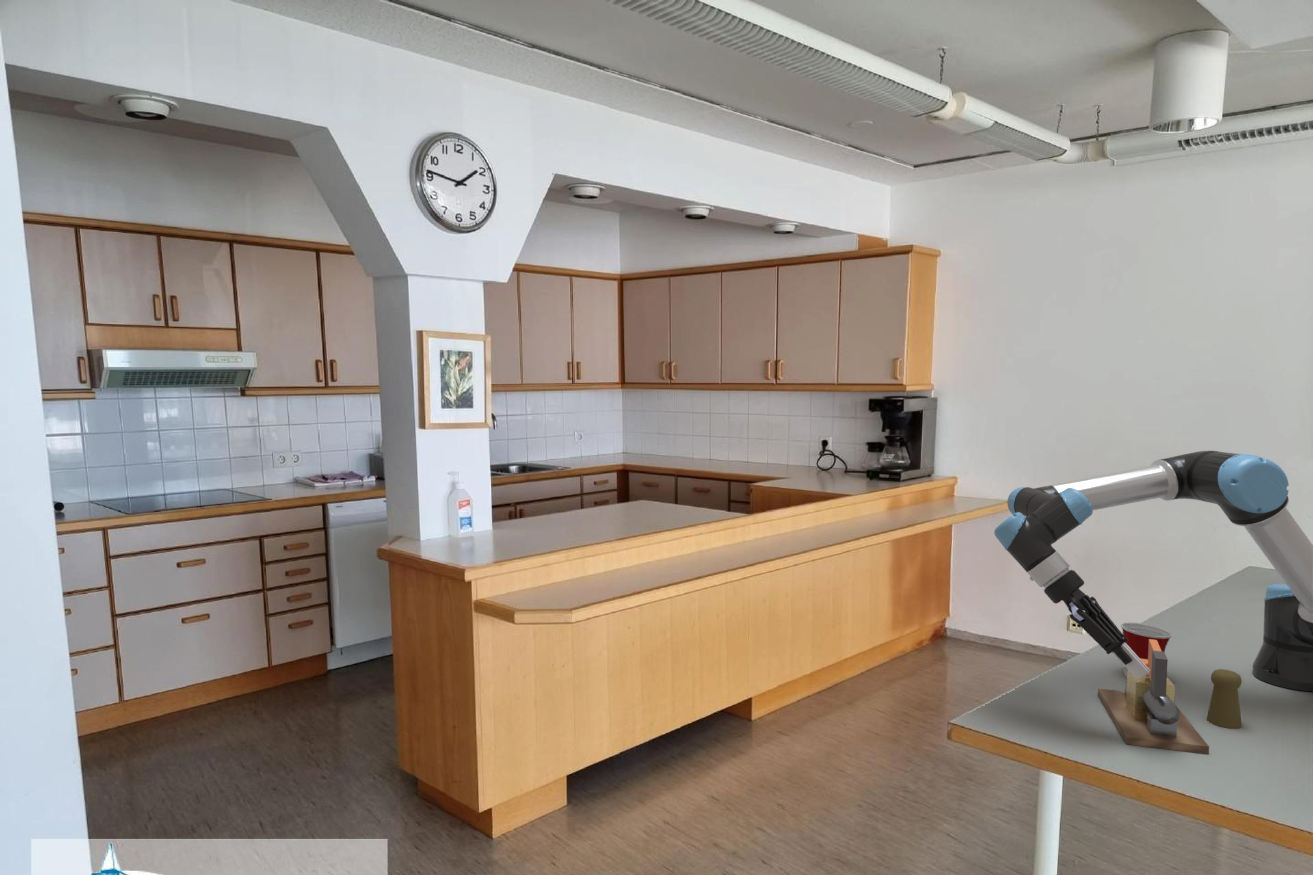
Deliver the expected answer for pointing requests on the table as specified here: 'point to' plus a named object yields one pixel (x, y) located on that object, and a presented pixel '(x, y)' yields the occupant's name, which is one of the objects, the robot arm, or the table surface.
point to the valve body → (1152, 705)
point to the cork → (1225, 699)
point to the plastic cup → (1144, 637)
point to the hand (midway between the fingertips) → (1143, 674)
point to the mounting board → (1137, 729)
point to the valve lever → (1156, 668)
